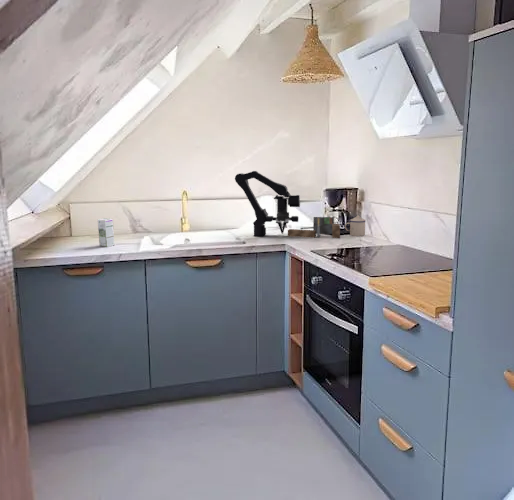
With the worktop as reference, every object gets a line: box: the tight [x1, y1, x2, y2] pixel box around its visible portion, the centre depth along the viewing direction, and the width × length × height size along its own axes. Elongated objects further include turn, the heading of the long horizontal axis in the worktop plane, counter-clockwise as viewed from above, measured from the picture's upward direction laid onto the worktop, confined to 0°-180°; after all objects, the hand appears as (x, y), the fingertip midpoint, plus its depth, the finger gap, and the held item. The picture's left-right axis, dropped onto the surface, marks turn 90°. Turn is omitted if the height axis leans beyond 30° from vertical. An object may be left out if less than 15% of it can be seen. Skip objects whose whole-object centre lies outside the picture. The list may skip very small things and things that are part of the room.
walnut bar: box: [287, 228, 317, 239], centre depth 292 cm, size 16×4×4 cm, turn 68°
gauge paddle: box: [316, 218, 321, 238], centre depth 294 cm, size 1×14×9 cm, turn 173°
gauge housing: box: [312, 216, 341, 239], centre depth 294 cm, size 15×17×10 cm
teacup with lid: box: [344, 215, 366, 237], centre depth 295 cm, size 12×9×12 cm
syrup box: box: [97, 217, 115, 248], centre depth 265 cm, size 6×6×14 cm
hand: (282, 233), depth 294 cm, fingers closed
